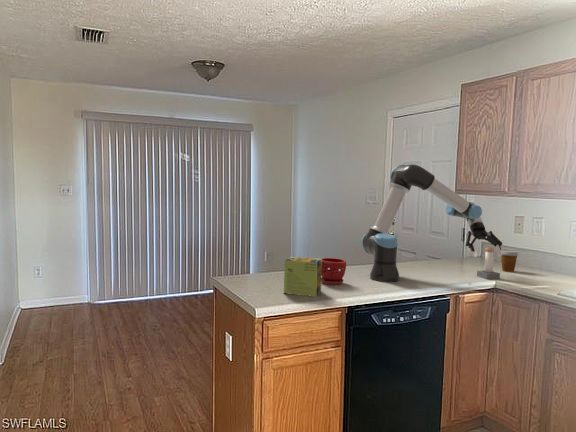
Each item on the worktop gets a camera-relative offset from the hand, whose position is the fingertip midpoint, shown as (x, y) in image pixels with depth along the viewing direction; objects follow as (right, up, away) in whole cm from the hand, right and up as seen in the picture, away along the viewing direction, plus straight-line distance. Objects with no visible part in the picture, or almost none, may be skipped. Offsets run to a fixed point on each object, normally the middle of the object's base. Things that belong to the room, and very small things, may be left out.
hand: (488, 256), depth 240 cm
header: (-1, -12, -1) cm, 13 cm away
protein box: (-102, -14, -37) cm, 110 cm away
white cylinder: (-1, -11, -2) cm, 12 cm away
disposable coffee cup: (+22, -11, +23) cm, 33 cm away
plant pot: (-87, -12, -17) cm, 89 cm away
